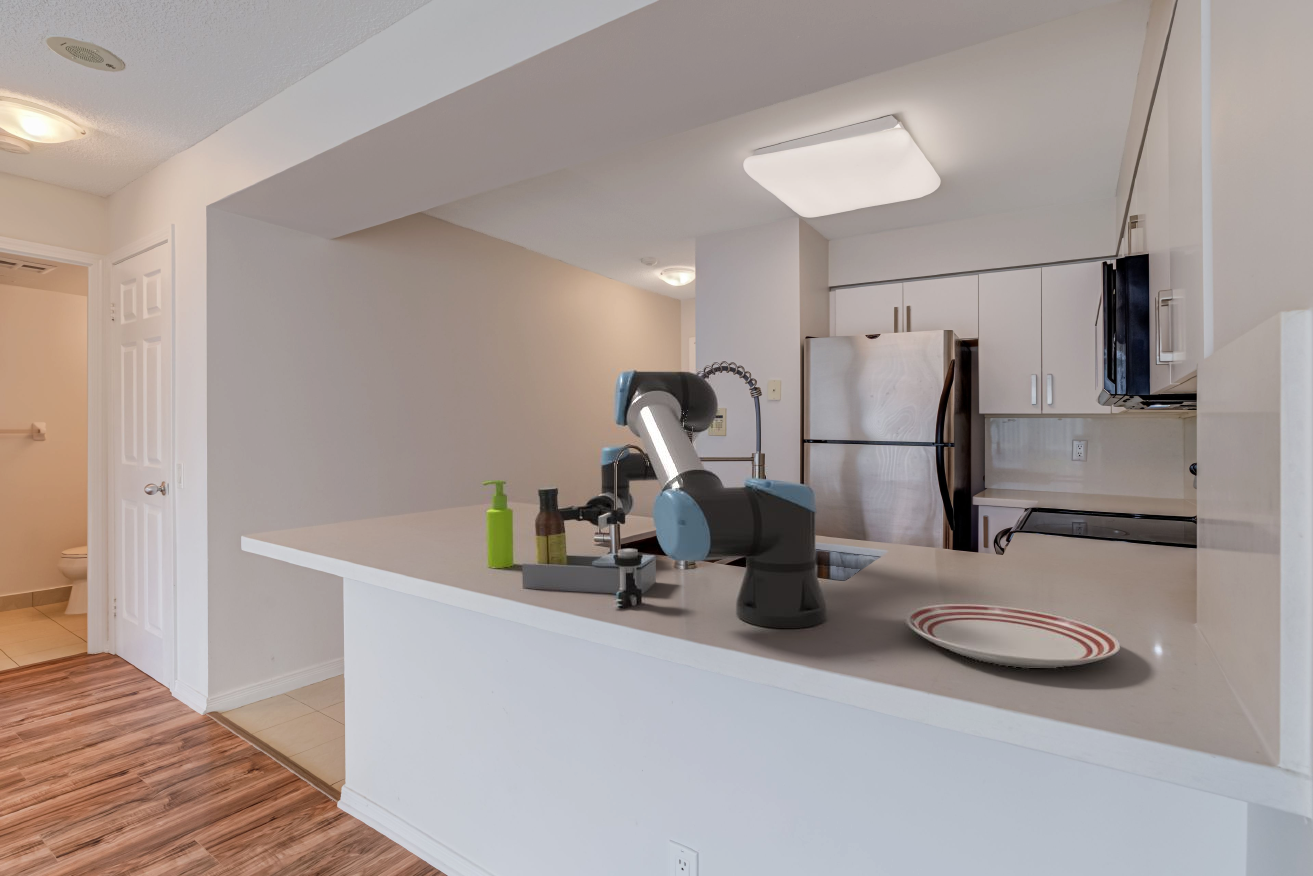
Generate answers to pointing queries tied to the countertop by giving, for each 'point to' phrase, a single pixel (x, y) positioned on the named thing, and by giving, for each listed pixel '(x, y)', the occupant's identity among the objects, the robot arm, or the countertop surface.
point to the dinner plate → (1012, 635)
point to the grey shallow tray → (583, 576)
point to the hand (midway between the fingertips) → (571, 522)
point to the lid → (610, 561)
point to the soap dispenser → (499, 529)
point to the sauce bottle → (550, 529)
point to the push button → (628, 578)
